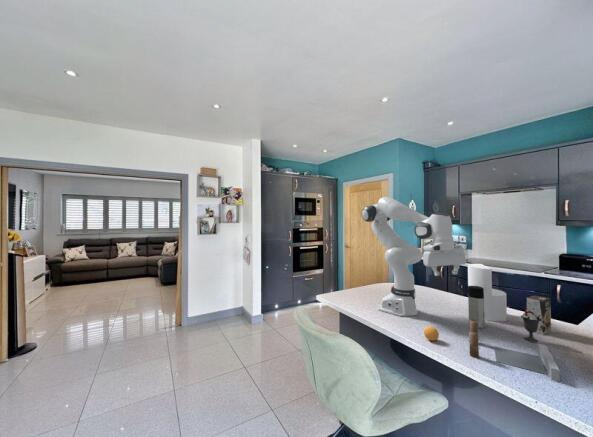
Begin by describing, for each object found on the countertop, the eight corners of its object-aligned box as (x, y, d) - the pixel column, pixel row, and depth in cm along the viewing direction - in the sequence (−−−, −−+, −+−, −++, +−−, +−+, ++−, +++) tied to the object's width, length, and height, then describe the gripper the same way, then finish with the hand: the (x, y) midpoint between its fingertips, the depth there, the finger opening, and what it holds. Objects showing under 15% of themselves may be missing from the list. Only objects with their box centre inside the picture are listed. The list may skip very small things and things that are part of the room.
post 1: (470, 342, 110) (469, 322, 110) (470, 339, 113) (469, 320, 113) (478, 344, 109) (478, 324, 109) (478, 341, 111) (477, 321, 111)
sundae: (517, 337, 115) (516, 304, 115) (530, 336, 116) (529, 304, 116) (531, 344, 109) (531, 310, 109) (545, 343, 109) (545, 309, 109)
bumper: (551, 379, 85) (551, 368, 85) (538, 353, 101) (538, 343, 101) (559, 381, 83) (559, 370, 83) (545, 355, 100) (545, 345, 100)
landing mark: (496, 361, 96) (496, 361, 96) (494, 346, 107) (494, 346, 107) (547, 374, 87) (547, 374, 87) (538, 356, 99) (538, 356, 99)
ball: (423, 340, 113) (422, 327, 113) (425, 335, 118) (424, 323, 118) (438, 344, 109) (437, 330, 109) (439, 339, 114) (439, 326, 114)
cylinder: (473, 318, 136) (472, 268, 137) (465, 308, 152) (464, 263, 153) (512, 323, 130) (511, 270, 130) (499, 311, 146) (498, 264, 146)
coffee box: (544, 335, 116) (543, 301, 116) (526, 330, 122) (525, 297, 122) (551, 331, 121) (551, 298, 121) (534, 326, 126) (534, 294, 126)
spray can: (487, 328, 124) (486, 289, 124) (472, 327, 125) (471, 288, 125) (480, 323, 130) (479, 285, 131) (466, 322, 132) (465, 285, 132)
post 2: (469, 356, 99) (469, 334, 99) (469, 353, 102) (469, 331, 102) (478, 358, 98) (478, 336, 98) (478, 355, 100) (478, 333, 100)
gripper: (458, 244, 124) (460, 272, 123) (420, 247, 122) (422, 275, 121) (468, 245, 118) (471, 274, 117) (428, 247, 116) (431, 277, 115)
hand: (446, 274), depth 119 cm, fingers open, 8 cm apart
